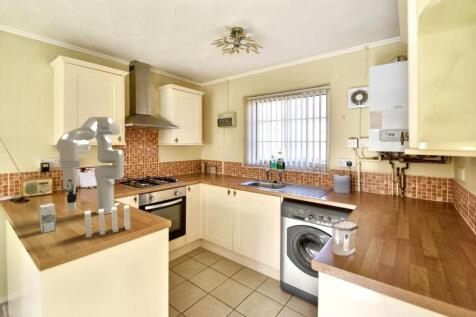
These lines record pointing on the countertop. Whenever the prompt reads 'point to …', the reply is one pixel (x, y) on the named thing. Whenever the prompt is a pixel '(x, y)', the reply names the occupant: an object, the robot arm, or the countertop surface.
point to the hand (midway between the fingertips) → (72, 200)
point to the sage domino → (72, 204)
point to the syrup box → (47, 217)
